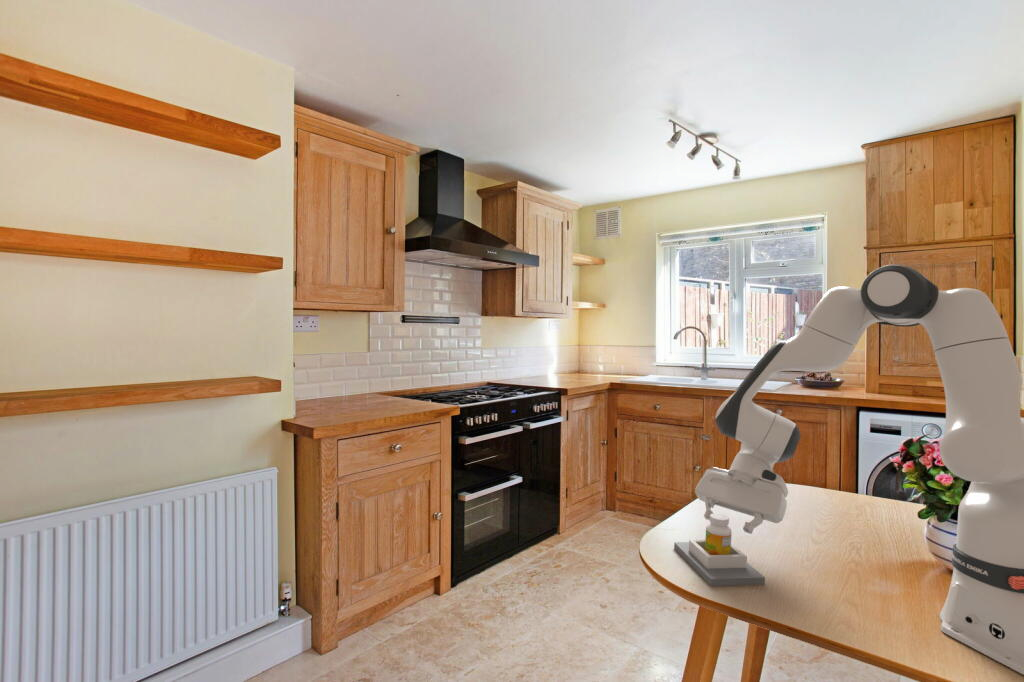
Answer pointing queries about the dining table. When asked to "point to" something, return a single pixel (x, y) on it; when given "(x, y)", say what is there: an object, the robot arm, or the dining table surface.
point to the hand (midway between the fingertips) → (726, 525)
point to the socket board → (719, 565)
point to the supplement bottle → (718, 535)
